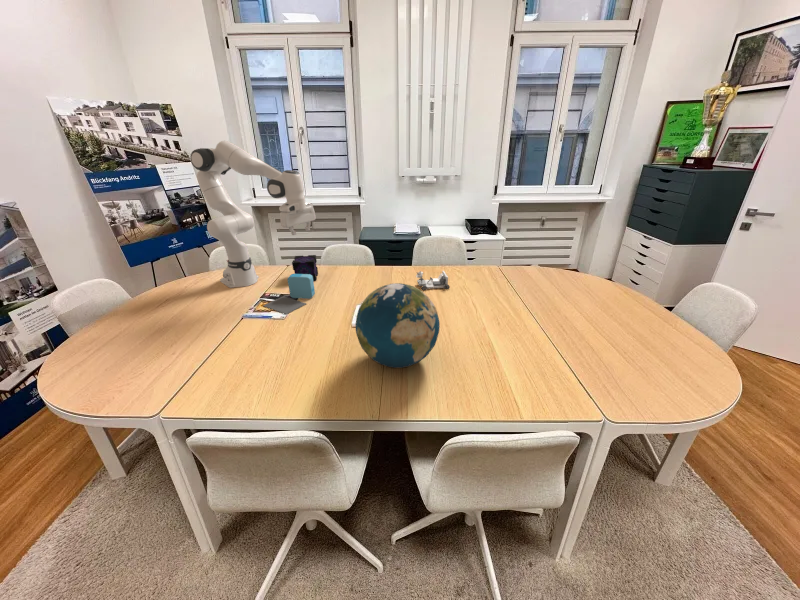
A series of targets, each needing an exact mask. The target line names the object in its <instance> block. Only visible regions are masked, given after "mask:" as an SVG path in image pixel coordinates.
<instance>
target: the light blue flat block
mask: <svg viewBox="0 0 800 600" xmlns="http://www.w3.org/2000/svg"><path fill="white" fill-rule="evenodd" d="M314 282H315V281H313V276H312V275H310V274H295V273H292V274H290V275H289V276H288V277H287V285H288V290H289V296H290V298H291V299H305V300H306V299H309V300H311V299H312V298H313V297H314V296H315V294H316V292H315V291H316V290H315V283H314Z"/></svg>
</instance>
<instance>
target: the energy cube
mask: <svg viewBox="0 0 800 600" xmlns="http://www.w3.org/2000/svg"><path fill="white" fill-rule="evenodd" d="M291 265H292V270H293V272H294V274H310V275H312V276H313V282H317V279H318V275H319V270H318V266H317V255H316V254H311V255H307V256H304V255H294V258H293V260H292V262H291Z"/></svg>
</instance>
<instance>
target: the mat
mask: <svg viewBox="0 0 800 600" xmlns="http://www.w3.org/2000/svg"><path fill="white" fill-rule="evenodd" d="M306 305H307V303H306V302H303V301H300V300H297V299H295V298H292V297H288V296H285V295H283V296H280V297H279V298H276V299H275V300H272V301H270V302H268V303H265V304H264V305H262V307H264V308H266V307H267V308H266V309H269V308H270V310H272V309H273V310H272V311H275V310H276V312H277V313H280V312H281V314H283V313H284V314H283V315H288V314H290V313H292V312H295V311H296V310H298V309H300V308H302V307H305V306H306Z"/></svg>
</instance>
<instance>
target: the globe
mask: <svg viewBox="0 0 800 600" xmlns="http://www.w3.org/2000/svg"><path fill="white" fill-rule="evenodd" d="M440 328H441V327H440V319H439V315H438V311H437V308H436V306H435V304H434V302H433V301H432V300H431V298H430V297H429V296H428V295H427V294H426V292H424V291H423V290H422V289H419V288H418V287H415V286H413V285H410V284H406V283H399V282H398V283H394V282H393V283H390V284H385V285H382V286H380V287H378V288H375V289H374V290H373V291H372V292H370V293H369V294H368V295H367V296H366V297H365V298H364V300H363V301H362V303H361V304H360V306H359V308H358V311H357V315H356V318H355V333H356V337H357V339H358V344H359V345H360V348H361V349H362V350H363V351H364V353H365V354H366V355H367V356H368V357H369V358H370V359H372V360H373V361H375V363H377V364H379V365H383V366H385V367H388V368H393V369H395V368H397V369H398V368H401V369H402V368H406V367H407V368H408V367H410V366H413V365H415V364H418V363H419V362H422V360H424V359H425V358H426V357H427V356H428V355H429V354H430V353H431V351H432V350H433V349H434V347H435V346H436V344H437V340H438V338H439V333H440Z"/></svg>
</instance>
